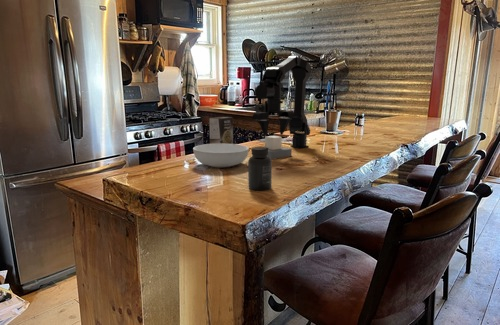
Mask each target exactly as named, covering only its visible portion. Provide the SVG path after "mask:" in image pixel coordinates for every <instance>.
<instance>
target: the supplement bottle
mask: <svg viewBox="0 0 500 325" xmlns="http://www.w3.org/2000/svg"><path fill="white" fill-rule="evenodd" d="M268 154H269V153H268V148H267V147H265V146H255V147H252V148H251V155H252V156H250V157H249V159H248V160H247V162H248V165H247V166H248V170H247V172H248V173H247V174H248V178H247V179H248V180H247V182H248V189H249V190H251V191H254V192H257V191H258V192H264V191H269V190H271V188H272V180H273V178H272V171H273V169H272V167H273V164H272V163H273V162H272V161H273V159H271V158H270V157H268Z"/></svg>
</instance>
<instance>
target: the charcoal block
mask: <svg viewBox="0 0 500 325" xmlns="http://www.w3.org/2000/svg"><path fill="white" fill-rule="evenodd" d="M268 153H269V154H268V157H270V158H271V160H275V158H276V159H280V158H281V157H282V158H286V156H288V157H291V156H292V154H293V153H292V148H288V147H283V146H281V149H275V150H271V149H268Z"/></svg>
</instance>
